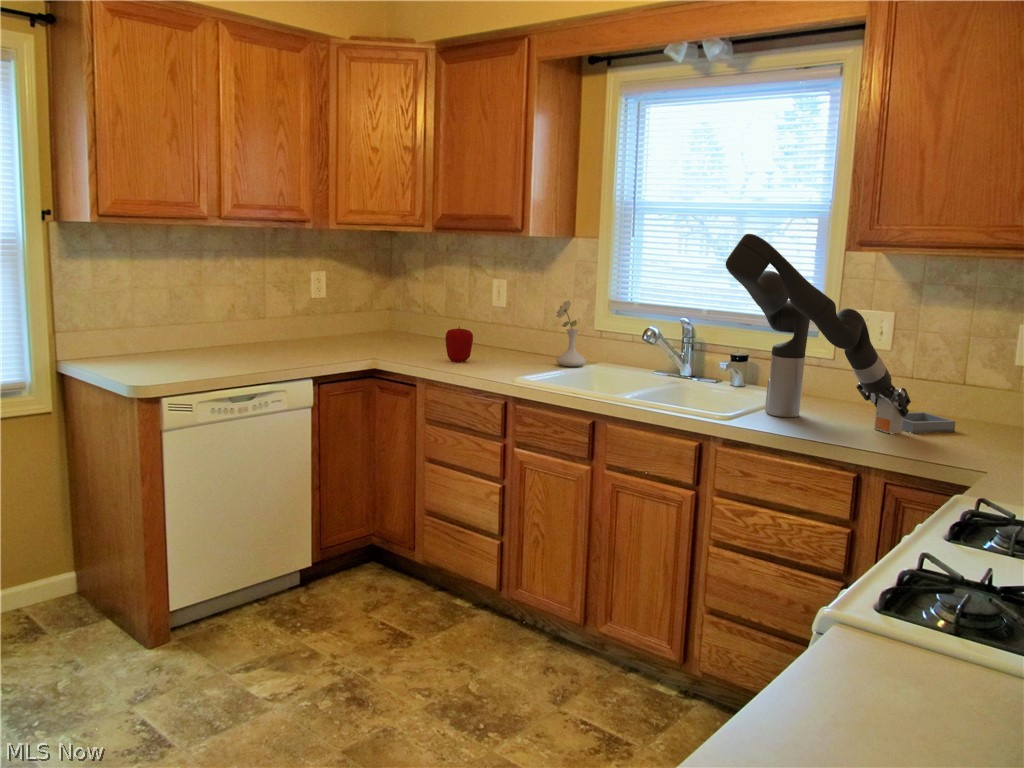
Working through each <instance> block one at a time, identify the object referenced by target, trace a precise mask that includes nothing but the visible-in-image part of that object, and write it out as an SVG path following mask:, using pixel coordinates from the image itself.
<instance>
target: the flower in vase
mask: <svg viewBox="0 0 1024 768" xmlns="http://www.w3.org/2000/svg"><path fill="white" fill-rule="evenodd" d="M571 304H572V303H571V301H570V300H569V299H568V300H565V301H564V302H563V304H562V305H560V306H559V309H557V311H556V317H557V318H558V319H561V318H563V317H564V316H565V315H567V317H568V320H567V321H565V322H564V323H563V324H562V325H561V327H563V328H566V327H568V326H570V328H567V329H565V330H566V333H567V335H568V348H567V350H566V351H564V352H563V353H562V354H561V355H559V356H558V357H557V358H556V360H555V362H556V364H558V365H560V366H565V367H570V368H571V367H581V366H584V365H586V363H587V361H586V359H585V358H584V357H583V356H582V354H580V353H579V352H578V350H577V349H576V338H577V334H578V333H579V332H580V329H577V328H576V329H575V328H573V327H576V326H577V324H578V323H577V319H574V320H572V321H571V319H570V316H569V313H568V311H569V309H570V308H571Z"/></svg>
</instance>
